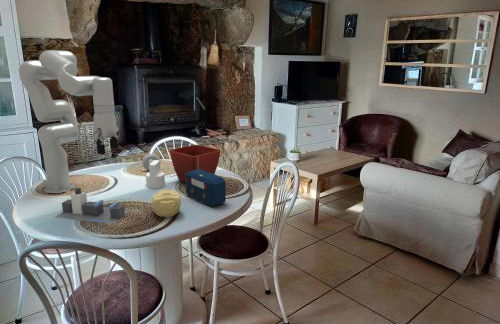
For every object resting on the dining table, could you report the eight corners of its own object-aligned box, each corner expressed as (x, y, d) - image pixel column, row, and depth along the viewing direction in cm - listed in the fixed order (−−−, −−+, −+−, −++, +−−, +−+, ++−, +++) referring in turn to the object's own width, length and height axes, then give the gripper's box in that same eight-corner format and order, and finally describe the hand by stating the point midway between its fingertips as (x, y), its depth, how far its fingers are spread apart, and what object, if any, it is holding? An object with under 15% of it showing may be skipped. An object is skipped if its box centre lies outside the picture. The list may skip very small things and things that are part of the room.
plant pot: (196, 173, 206) (196, 143, 201) (221, 180, 194) (221, 149, 190) (169, 181, 192) (168, 149, 187) (194, 189, 180) (194, 156, 175)
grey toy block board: (54, 220, 143) (52, 205, 142) (77, 206, 156) (76, 192, 155) (112, 227, 139) (111, 211, 137) (131, 213, 152) (130, 198, 150)
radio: (183, 195, 172) (182, 154, 166) (198, 191, 178) (197, 151, 172) (211, 209, 158) (211, 164, 152) (227, 203, 164) (227, 161, 158)
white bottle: (72, 213, 147) (70, 189, 144) (79, 209, 150) (76, 186, 148) (81, 214, 146) (79, 190, 143) (87, 210, 150) (85, 187, 147)
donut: (143, 172, 205) (142, 155, 202) (142, 170, 208) (141, 153, 205) (161, 170, 208) (160, 153, 206) (160, 169, 211) (159, 152, 209)
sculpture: (153, 221, 145) (151, 196, 142) (152, 209, 156) (151, 185, 153) (182, 218, 148) (181, 193, 145) (179, 207, 159) (178, 183, 156)
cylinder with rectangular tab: (162, 188, 180) (161, 165, 177) (144, 188, 181) (142, 164, 177) (166, 182, 189) (165, 160, 186) (149, 182, 189) (148, 159, 186)
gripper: (107, 106, 154) (110, 145, 159) (82, 111, 138) (87, 155, 142) (123, 107, 153) (126, 146, 158) (101, 112, 137) (105, 157, 141)
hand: (108, 151), depth 150 cm, fingers open, 9 cm apart
